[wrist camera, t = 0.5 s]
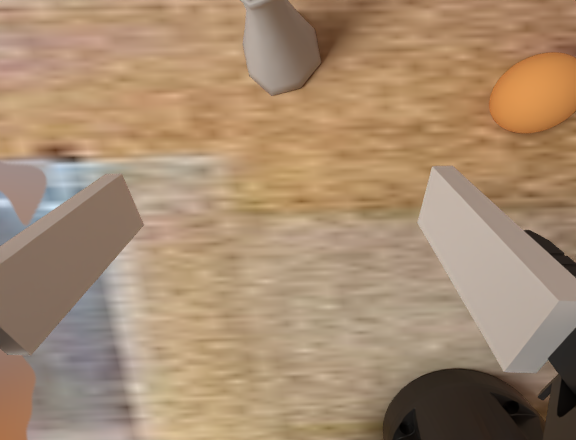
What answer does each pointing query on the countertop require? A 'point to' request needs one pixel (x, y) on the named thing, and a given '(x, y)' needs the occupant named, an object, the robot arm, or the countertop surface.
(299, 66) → the flask
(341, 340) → the countertop surface
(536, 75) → the ball
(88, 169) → the countertop surface
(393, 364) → the countertop surface
